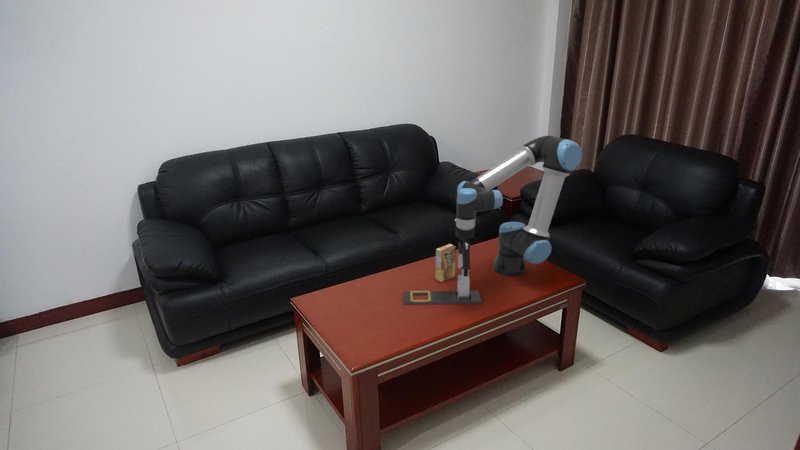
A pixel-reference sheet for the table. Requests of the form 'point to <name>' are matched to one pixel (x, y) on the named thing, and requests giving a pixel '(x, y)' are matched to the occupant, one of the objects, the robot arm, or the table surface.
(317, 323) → the table surface
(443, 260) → the candy box
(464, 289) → the steel block
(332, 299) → the table surface
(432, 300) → the rail
